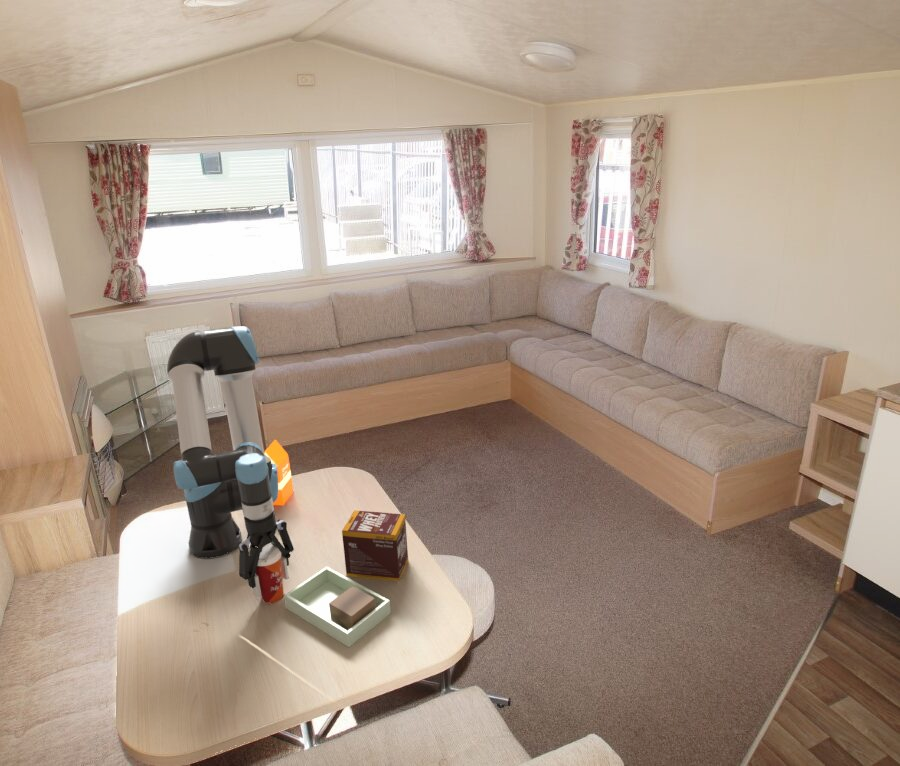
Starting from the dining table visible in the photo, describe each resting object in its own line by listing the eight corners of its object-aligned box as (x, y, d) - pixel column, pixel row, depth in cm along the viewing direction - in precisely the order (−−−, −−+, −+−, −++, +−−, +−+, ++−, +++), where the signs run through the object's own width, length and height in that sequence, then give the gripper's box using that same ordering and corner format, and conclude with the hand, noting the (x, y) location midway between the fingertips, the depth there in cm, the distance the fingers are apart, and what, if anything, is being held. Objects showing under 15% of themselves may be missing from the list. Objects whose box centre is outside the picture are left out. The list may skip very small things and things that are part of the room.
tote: (286, 609, 172) (284, 595, 170) (328, 580, 183) (326, 566, 181) (349, 649, 158) (347, 634, 157) (391, 614, 169) (389, 600, 167)
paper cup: (283, 605, 174) (276, 561, 168) (254, 606, 174) (246, 562, 169) (290, 586, 181) (284, 543, 176) (262, 587, 181) (255, 544, 176)
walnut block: (331, 622, 166) (329, 603, 164) (354, 604, 172) (352, 586, 170) (353, 635, 161) (351, 616, 159) (376, 617, 167) (374, 598, 165)
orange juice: (261, 504, 221) (253, 450, 214) (272, 490, 229) (264, 438, 222) (284, 505, 220) (276, 451, 213) (294, 491, 228) (286, 439, 221)
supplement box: (399, 583, 180) (395, 535, 175) (346, 578, 183) (340, 530, 178) (409, 560, 190) (406, 513, 184) (358, 555, 193) (353, 509, 187)
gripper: (232, 537, 158) (246, 614, 166) (301, 499, 173) (311, 570, 181) (214, 527, 162) (228, 602, 171) (283, 490, 178) (293, 561, 186)
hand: (271, 586), depth 176 cm, fingers open, 8 cm apart
